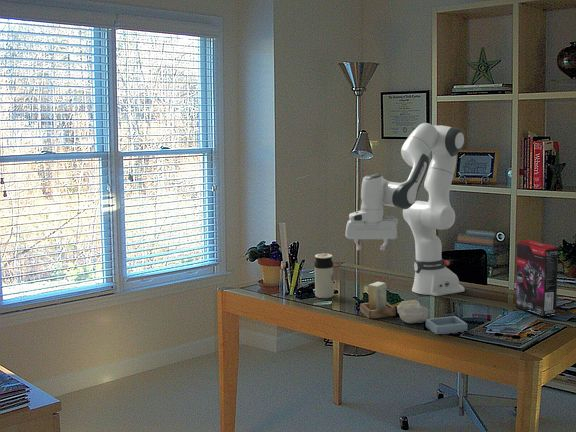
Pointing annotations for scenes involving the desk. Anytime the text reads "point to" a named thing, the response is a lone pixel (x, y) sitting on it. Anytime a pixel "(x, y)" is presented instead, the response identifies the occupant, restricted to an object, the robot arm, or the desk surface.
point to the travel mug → (324, 276)
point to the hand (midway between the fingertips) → (370, 250)
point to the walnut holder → (377, 311)
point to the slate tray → (446, 325)
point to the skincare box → (377, 296)
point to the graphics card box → (536, 277)
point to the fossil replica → (412, 311)
